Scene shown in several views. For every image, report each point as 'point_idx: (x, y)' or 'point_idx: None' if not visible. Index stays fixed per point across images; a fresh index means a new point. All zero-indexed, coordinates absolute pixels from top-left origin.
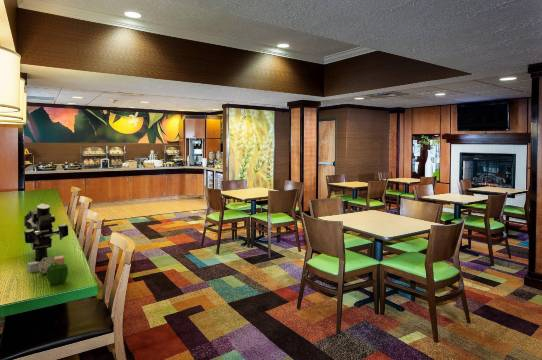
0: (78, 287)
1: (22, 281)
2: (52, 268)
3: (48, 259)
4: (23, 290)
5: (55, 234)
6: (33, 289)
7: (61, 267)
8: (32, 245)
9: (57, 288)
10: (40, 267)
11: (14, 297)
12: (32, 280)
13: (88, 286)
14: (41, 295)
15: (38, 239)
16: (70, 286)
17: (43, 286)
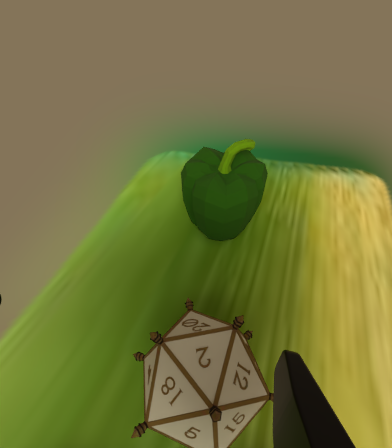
0: None
1: (345, 343)
2: (247, 160)
3: (201, 329)
4: (337, 231)
5: None
6: (304, 219)
7: (215, 151)
8: None
9: None
10: (253, 356)
11: (361, 197)
12: (297, 321)
13: (166, 155)
14: (288, 171)
15: (305, 422)
16: None
17: (269, 224)
